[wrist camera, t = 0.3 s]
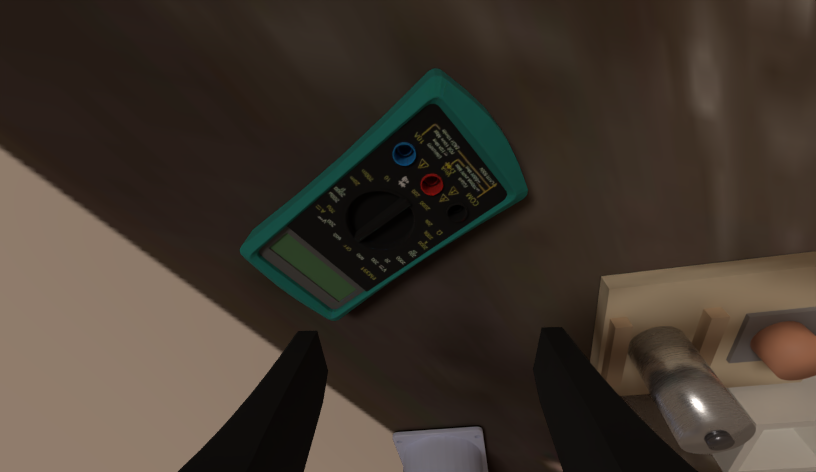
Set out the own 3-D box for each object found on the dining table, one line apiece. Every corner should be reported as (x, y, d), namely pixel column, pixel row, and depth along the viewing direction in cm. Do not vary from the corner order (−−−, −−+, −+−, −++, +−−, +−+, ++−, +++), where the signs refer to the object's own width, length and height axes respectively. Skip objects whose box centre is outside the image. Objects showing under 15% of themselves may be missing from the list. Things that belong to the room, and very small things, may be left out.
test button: (794, 351, 24) (822, 378, 22) (743, 355, 24) (767, 382, 23) (814, 318, 22) (845, 345, 21) (758, 323, 23) (785, 350, 21)
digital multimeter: (530, 168, 20) (546, 194, 17) (338, 299, 25) (329, 333, 23) (445, 52, 17) (450, 63, 14) (249, 230, 22) (228, 259, 20)
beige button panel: (787, 367, 27) (811, 392, 25) (587, 384, 29) (597, 408, 27) (858, 246, 21) (896, 268, 19) (601, 276, 23) (615, 298, 21)
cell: (679, 360, 25) (748, 459, 20) (623, 364, 26) (676, 463, 20) (691, 323, 23) (772, 422, 18) (631, 329, 24) (692, 428, 18)
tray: (793, 425, 31) (831, 470, 28) (697, 431, 32) (725, 475, 29) (831, 370, 27) (881, 416, 24) (721, 379, 28) (756, 424, 25)
